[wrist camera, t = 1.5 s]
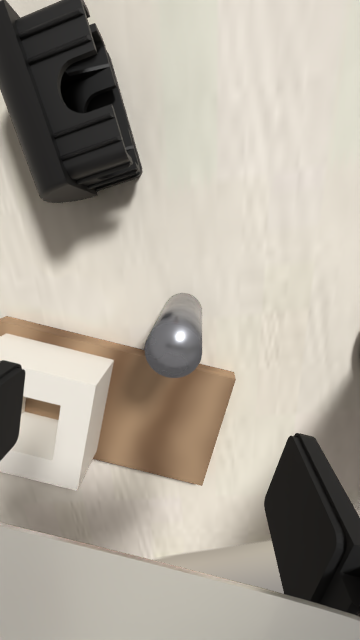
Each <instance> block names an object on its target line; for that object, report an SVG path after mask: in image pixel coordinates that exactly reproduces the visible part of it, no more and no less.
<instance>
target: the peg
mask: <svg viewBox="0 0 360 640" xmlns="http://www.w3.org/2000/svg"><path fill="white" fill-rule="evenodd" d="M201 356H202V308H201V305H200V303H199V301H198V300H197V299H196V298H195V297H194V296H192V295H190V294H186V293H180V294H176V295H174V296H172V297H171V298H170V299H169V300H168V301H167V303H166V305H165V306H164V308H163V310H162V312H161V314H160V316H159V318H158V320H157V322H156V323H155V325H154V327H153V329H152V331H151V333H150V335H149V337H148V339H147V341H146V344H145V357H146V360H147V362H148V364H149V365H150V367H151V368H152V369H153V370H154V371H155V372H157V373H158V374H160V375H162V376H165V377H168V378H180V377H184V376H186V375H188V374H190V373H191V372H193V371H194V370H195V369H196V368H197V366H198V365H199V363H200V360H201Z"/></svg>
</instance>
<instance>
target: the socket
mask: <svg viewBox="0 0 360 640" xmlns="http://www.w3.org/2000/svg"><path fill="white" fill-rule="evenodd" d="M2 360H5V361H9V362H13V363H18V364H20V365H21V367H22V369H24V370H25V383H24V393H23V402H22V411H21V420H20V430H19V437H18V440H17V442H16V444H15V445H14V446H13V448H12V449H11V450H10V451H9V452H8V453H7V454H6V455H5V457H4V458H3V459H2V460H1V461H0V472H3V473H7V474H11V475H15V476H19V477H23V478H27V479H31V480H35V481H39V482H43V483H47V484H51V485H55V486H59V487H63V488H67V489H71V490H75V491H77V490H78V488H79V486H80V484H81V482H82V480H83V478H84V476H85V474H86V472H87V470H88V468H89V466H90V463H91V461H92V459H93V457H94V455H95V453H96V451H97V447H98V441H99V436H100V431H101V426H102V420H103V415H104V410H105V405H106V400H107V394H108V389H109V384H110V379H111V373H112V368H113V363H114V360H112V359H108V358H104V357H100V356H96V355H92V354H88V353H84V352H80V351H76V350H72V349H68V348H64V347H60V346H56V345H52V344H48V343H44V342H40V341H36V340H31V339H27V338H23V337H19V336H15V335H11V334H7V333H6V334H4V335H2V336H0V361H2ZM26 397H28V398H32V399H36V400H40V401H44V402H48V403H52V404H56V405H60V406H61V407H60V414H59V420H56V419H52V418H48V417H44V416H40V415H36V414H32V413H28V412H25V403H26Z"/></svg>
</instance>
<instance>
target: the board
mask: <svg viewBox="0 0 360 640" xmlns="http://www.w3.org/2000/svg"><path fill="white" fill-rule="evenodd" d="M6 333H7V334H11V335H15V336H19V337H23V338H27V339H31V340H36V341H40V342H44V343H48V344H52V345H56V346H60V347H64V348H68V349H72V350H76V351H80V352H84V353H88V354H92V355H96V356H100V357H104V358H108V359H112V360H114V363H113V368H112V373H111V379H110V384H109V389H108V394H107V400H106V405H105V410H104V415H103V420H102V426H101V431H100V436H99V441H98V447H97V451H96V453H95V455H94V457H93V459H97V460H101V461H105V462H109V463H113V464H117V465H121V466H125V467H129V468H133V469H137V470H141V471H145V472H149V473H153V474H157V475H161V476H165V477H169V478H173V479H177V480H181V481H185V482H189V483H193V484H197V485H201V486H202V484H203V481H204V478H205V475H206V472H207V468H208V465H209V462H210V459H211V456H212V453H213V449H214V446H215V443H216V440H217V437H218V434H219V430H220V427H221V424H222V421H223V418H224V415H225V411H226V408H227V405H228V402H229V399H230V395H231V392H232V389H233V386H234V383H235V380H236V379H235V375H234V372H231V371H227V370H223V369H219V368H214V367H210V366H206V365H202V364H199V365H198V366H197V368H196V369H195V370H194V371H193V372H191V373H190V374H188V375H186V376H184V377H180V378H168V377H165V376H162V375H160V374H158V373H157V372H155V371H154V370H153V369H152V368H151V367H150V365H149V364H148V362H147V360H146V357H145V350H142V349H138V348H134V347H130V346H125V345H121V344H117V343H113V342H109V341H105V340H101V339H97V338H93V337H89V336H85V335H81V334H77V333H73V332H69V331H65V330H61V329H57V328H53V327H49V326H45V325H40V324H36V323H32V322H28V321H24V320H20V319H16V318H12V317H8V316H6V317H4V318H1V319H0V336H2V335H4V334H6ZM60 407H61V406H60V405H56V404H52V403H48V402H44V401H40V400H36V399H32V398H28V397H26V403H25V412H28V413H32V414H36V415H40V416H44V417H48V418H52V419H56V420H59V414H60Z"/></svg>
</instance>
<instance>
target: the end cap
mask: <svg viewBox="0 0 360 640" xmlns="http://www.w3.org/2000/svg"><path fill="white" fill-rule="evenodd" d="M88 17H90V15H89V11H88V9H87V7H86V5H85V3H84V1H83V0H61V1H59V2H57V3H54V4H52V5H50V6H47V7H45V8H43V9H40V10H38V11H35V12H33V13H31V14H28V15H26V16H24V17H21V18H20V17H19V16H18V14H17V13H16V12H15V11H14V10H13V8H12V7H11V6H10V5H9V4H8V2H7V1H6V0H1V1H0V90H1V92H2V95H3V98H4V101H5V103H6V106H7V109H8V111H9V114H10V117H11V120H12V122H13V125H14V128H15V130H16V133H17V136H18V139H19V141H20V144H21V147H22V149H23V152H24V155H25V158H26V160H27V163H28V166H29V169H30V171H31V174H32V177H33V179H34V182H35V185H36V188H37V190H38V193H39V196H40V197H41V198H42V199H43V200H44V201H47V202H52V203H63V202H72V201H78V200H82V199H86V198H90V197H94V196H97V195H98V194H97V191H99V190H102V189H105V188H108V187H111V186H114V185H117V184H120V183H123V182H126V181H130V180H133V179H136V178H138V177H140V176H141V174H142V166H141V163H140V159H139V156H138V152H137V149H136V145H135V142H134V138H133V135H132V131H131V128H130V124H129V121H128V117H127V114H126V110H125V107H124V103H123V100H122V96H121V93H120V89H119V86H118V82H117V79H116V76H115V72H114V69H113V65H112V62H111V58H110V56H109V54H108V52H107V51H106V48H105V45H104V42H103V39H102V37H101V34H100V32H99V30H98V28H97V26H96V24H95V23H94V24H91V25H89V23H88V20H87V18H88Z"/></svg>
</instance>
